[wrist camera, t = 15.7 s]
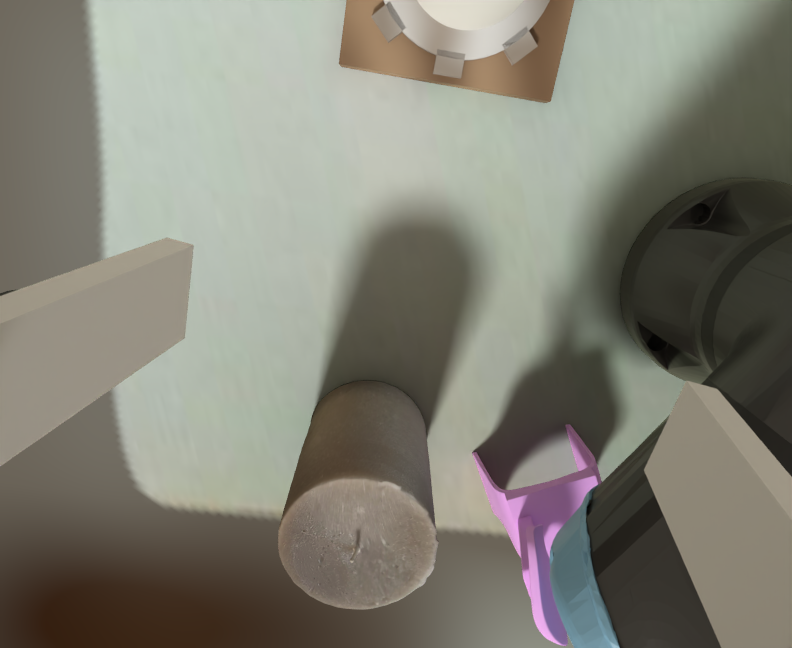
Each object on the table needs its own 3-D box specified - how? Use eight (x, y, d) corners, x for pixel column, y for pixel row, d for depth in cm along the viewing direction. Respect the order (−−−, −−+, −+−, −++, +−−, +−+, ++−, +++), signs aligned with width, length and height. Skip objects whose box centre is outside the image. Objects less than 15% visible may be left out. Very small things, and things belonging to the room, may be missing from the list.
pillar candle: (296, 463, 47) (252, 605, 33) (329, 362, 44) (297, 469, 30) (405, 495, 48) (408, 646, 34) (445, 398, 45) (466, 519, 31)
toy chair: (595, 493, 48) (677, 644, 34) (496, 521, 49) (534, 679, 35) (572, 410, 45) (649, 534, 31) (468, 442, 46) (496, 575, 32)
